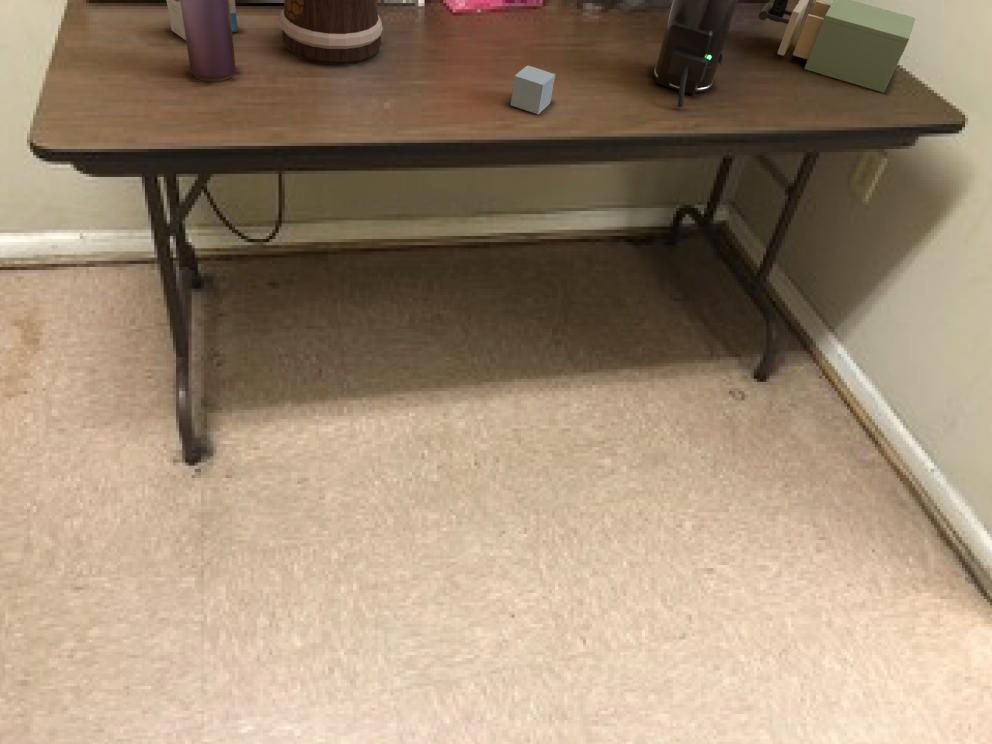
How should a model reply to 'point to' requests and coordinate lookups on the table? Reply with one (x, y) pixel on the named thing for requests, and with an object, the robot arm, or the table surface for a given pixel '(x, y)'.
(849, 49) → the cabinet
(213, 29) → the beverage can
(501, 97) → the table surface
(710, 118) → the table surface
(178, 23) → the ink box
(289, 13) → the mug
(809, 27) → the drawer
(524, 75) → the block
